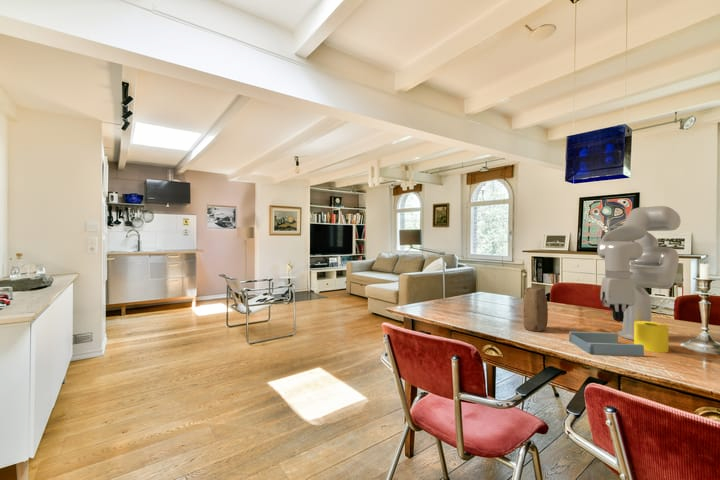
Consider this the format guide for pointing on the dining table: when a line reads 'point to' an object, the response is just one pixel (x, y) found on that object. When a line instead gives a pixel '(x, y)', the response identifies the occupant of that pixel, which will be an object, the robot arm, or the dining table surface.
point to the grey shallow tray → (604, 344)
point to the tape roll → (651, 336)
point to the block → (535, 309)
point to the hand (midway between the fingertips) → (618, 320)
